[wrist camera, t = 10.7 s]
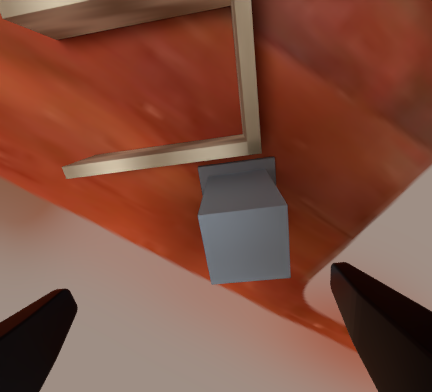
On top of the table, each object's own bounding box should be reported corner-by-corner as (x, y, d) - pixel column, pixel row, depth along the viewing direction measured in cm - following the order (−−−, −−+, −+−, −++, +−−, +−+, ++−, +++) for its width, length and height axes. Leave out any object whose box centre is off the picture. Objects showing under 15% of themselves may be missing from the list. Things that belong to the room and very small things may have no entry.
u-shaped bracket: (241, -13, 14) (247, -57, 10) (254, 143, 17) (261, 153, 14) (52, 26, 15) (-5, -1, 11) (98, 164, 19) (66, 178, 15)
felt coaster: (273, 156, 18) (274, 157, 17) (276, 223, 20) (278, 226, 19) (198, 166, 18) (197, 167, 18) (209, 230, 20) (209, 233, 20)
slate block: (265, 168, 18) (287, 204, 11) (269, 219, 19) (290, 277, 13) (208, 176, 18) (197, 215, 11) (217, 225, 20) (211, 284, 13)
